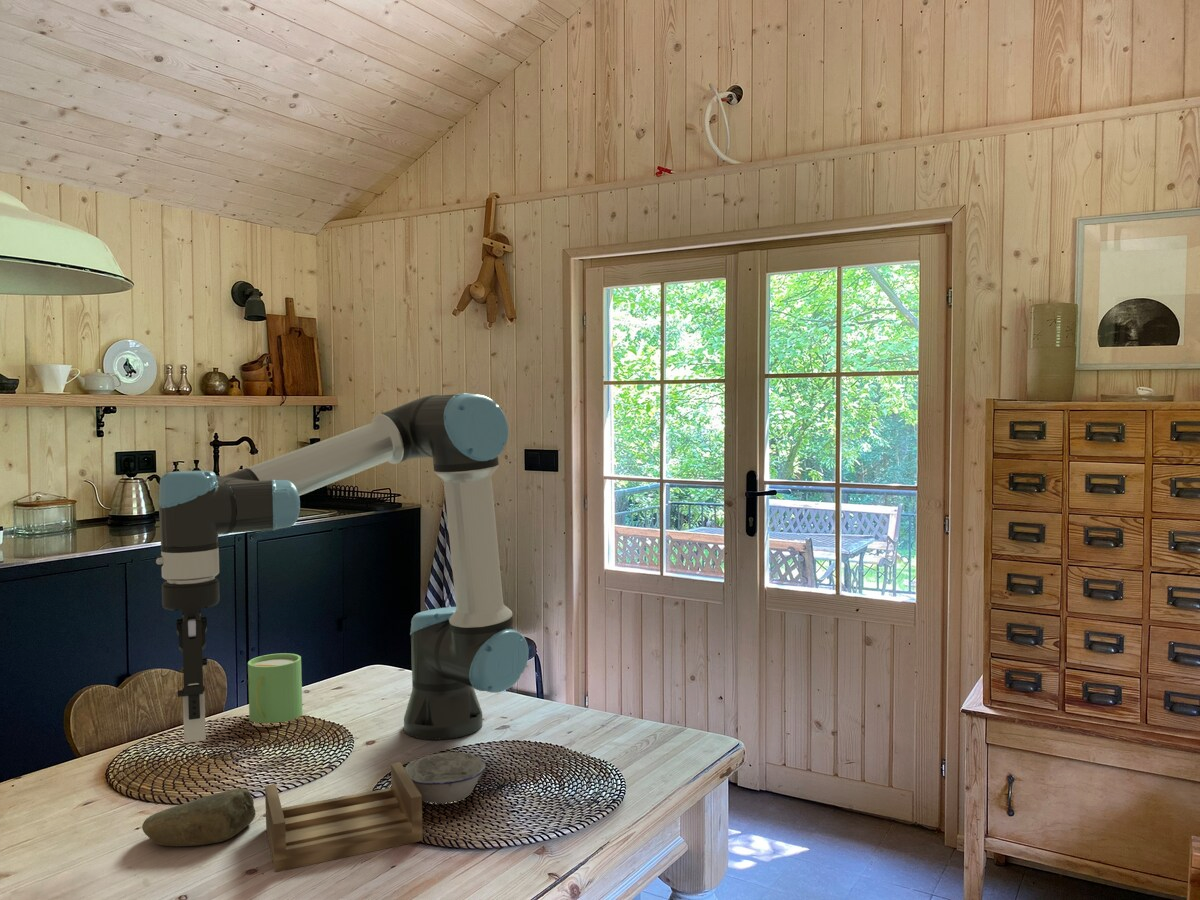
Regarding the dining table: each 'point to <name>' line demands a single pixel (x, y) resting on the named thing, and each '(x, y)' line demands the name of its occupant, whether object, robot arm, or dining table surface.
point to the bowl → (445, 775)
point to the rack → (344, 823)
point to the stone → (202, 820)
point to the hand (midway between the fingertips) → (194, 725)
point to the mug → (275, 688)
